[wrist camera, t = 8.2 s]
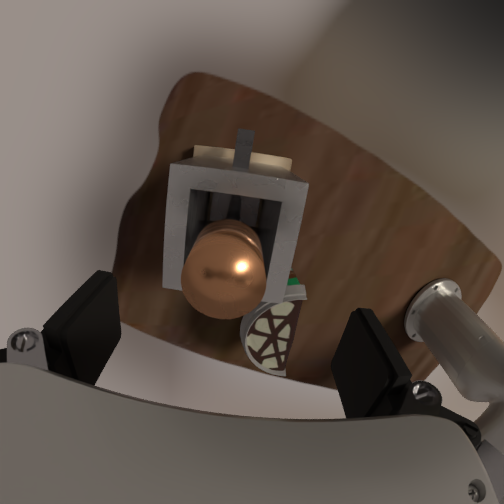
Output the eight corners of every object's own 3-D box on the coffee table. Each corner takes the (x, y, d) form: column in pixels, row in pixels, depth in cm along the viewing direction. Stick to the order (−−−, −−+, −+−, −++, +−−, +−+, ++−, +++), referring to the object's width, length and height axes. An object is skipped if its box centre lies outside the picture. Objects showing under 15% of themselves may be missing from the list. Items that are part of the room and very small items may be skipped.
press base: (289, 158, 32) (292, 159, 30) (273, 244, 36) (274, 249, 34) (197, 145, 31) (194, 145, 30) (187, 232, 35) (184, 237, 34)
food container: (245, 250, 37) (246, 289, 27) (292, 255, 37) (308, 294, 28) (236, 328, 41) (234, 376, 32) (277, 331, 42) (285, 379, 32)
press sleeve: (286, 141, 30) (316, 140, 17) (268, 241, 34) (282, 303, 21) (205, 129, 29) (176, 119, 16) (193, 230, 33) (162, 287, 20)
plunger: (262, 180, 31) (289, 239, 12) (255, 224, 33) (268, 334, 14) (216, 173, 30) (171, 222, 12) (210, 218, 32) (167, 320, 14)
